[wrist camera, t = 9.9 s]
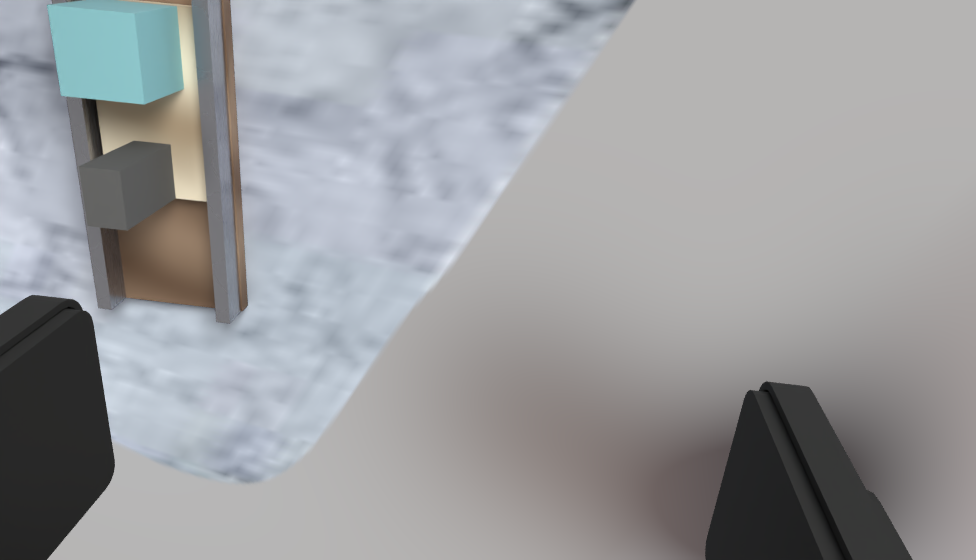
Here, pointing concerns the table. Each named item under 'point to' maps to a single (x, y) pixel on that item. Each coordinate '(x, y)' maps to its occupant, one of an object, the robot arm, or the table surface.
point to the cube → (116, 50)
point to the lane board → (181, 223)
